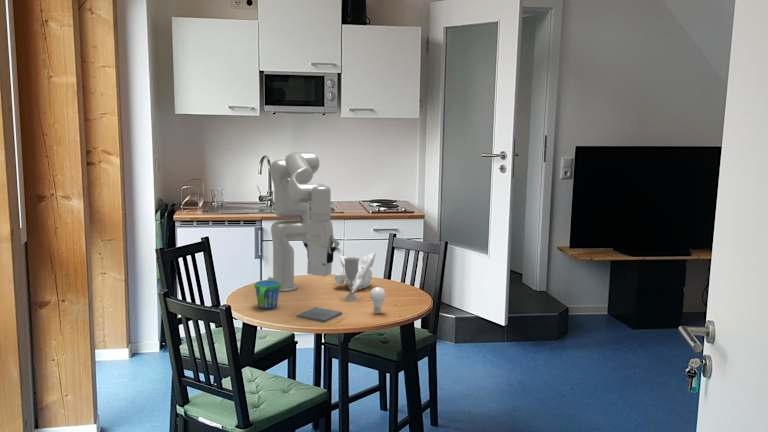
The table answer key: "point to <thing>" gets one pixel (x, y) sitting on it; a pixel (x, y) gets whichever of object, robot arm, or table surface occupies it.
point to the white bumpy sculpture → (358, 273)
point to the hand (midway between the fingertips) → (320, 261)
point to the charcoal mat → (319, 314)
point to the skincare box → (318, 260)
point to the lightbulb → (377, 298)
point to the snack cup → (267, 293)
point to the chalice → (351, 274)
